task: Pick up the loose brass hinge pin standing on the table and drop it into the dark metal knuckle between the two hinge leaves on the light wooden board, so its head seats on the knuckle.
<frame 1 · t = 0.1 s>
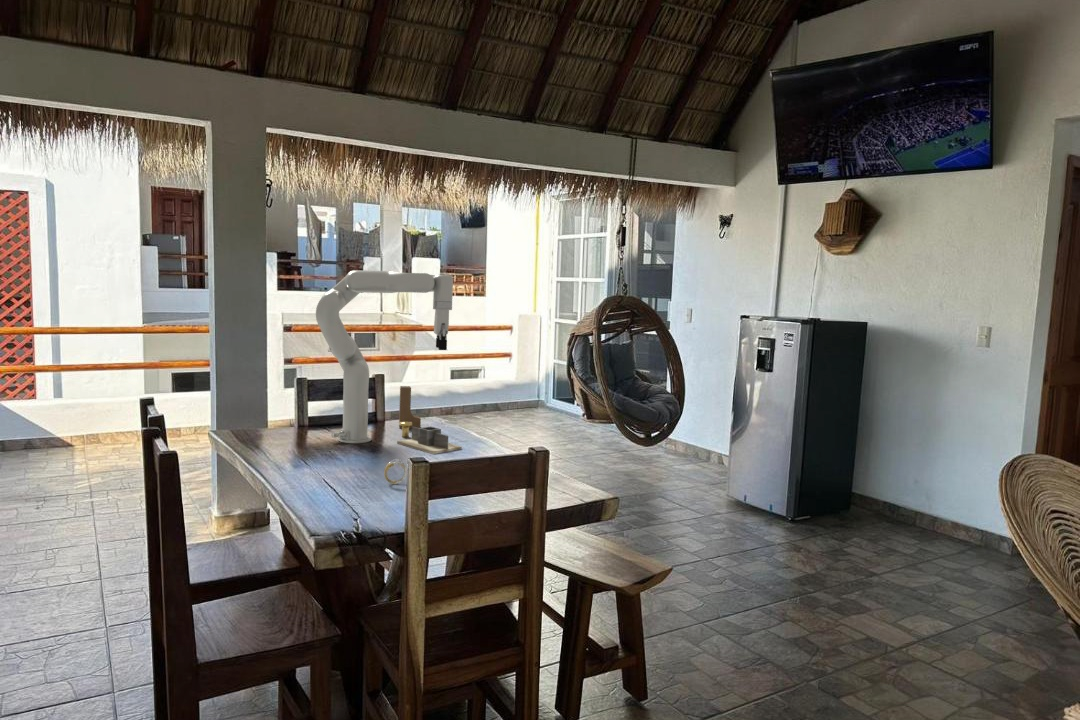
hand: (441, 348, 289), 37 cm above the table, tool pointing down, fingers open, 9 cm apart
wooden block: (409, 428, 315), on the table
hinge pin: (405, 437, 296), on the table
hinge base: (429, 446, 281), on the table
ring: (395, 484, 227), on the table
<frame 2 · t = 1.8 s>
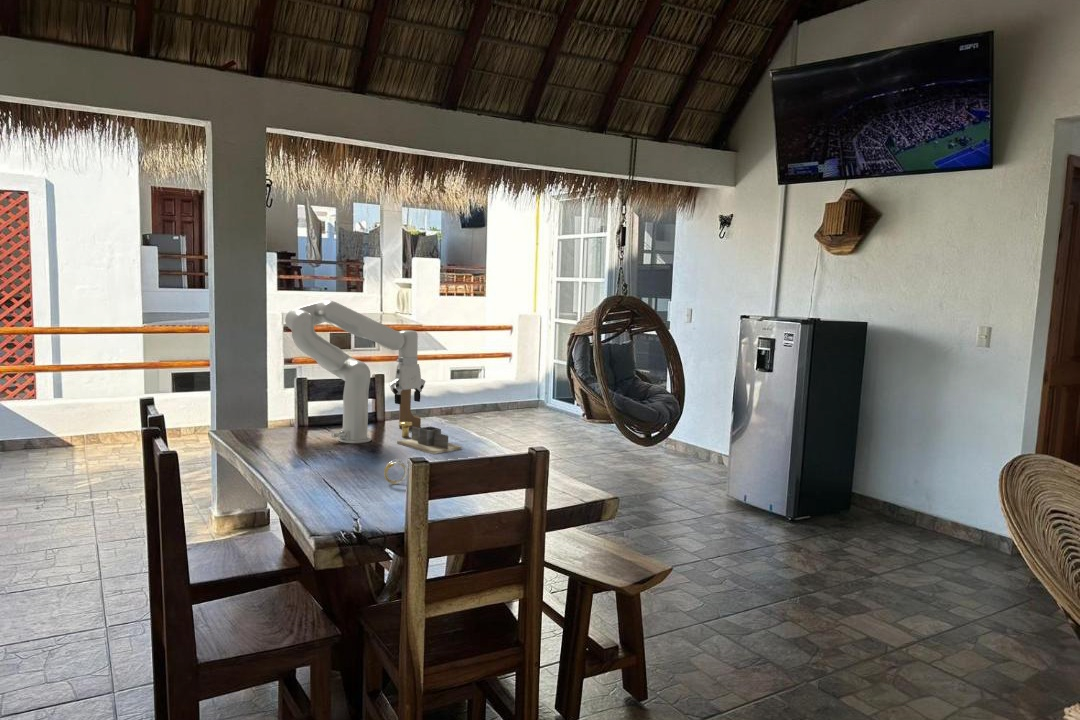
hand: (407, 402, 295), 14 cm above the table, tool pointing down, fingers open, 9 cm apart
nothing on the table moved.
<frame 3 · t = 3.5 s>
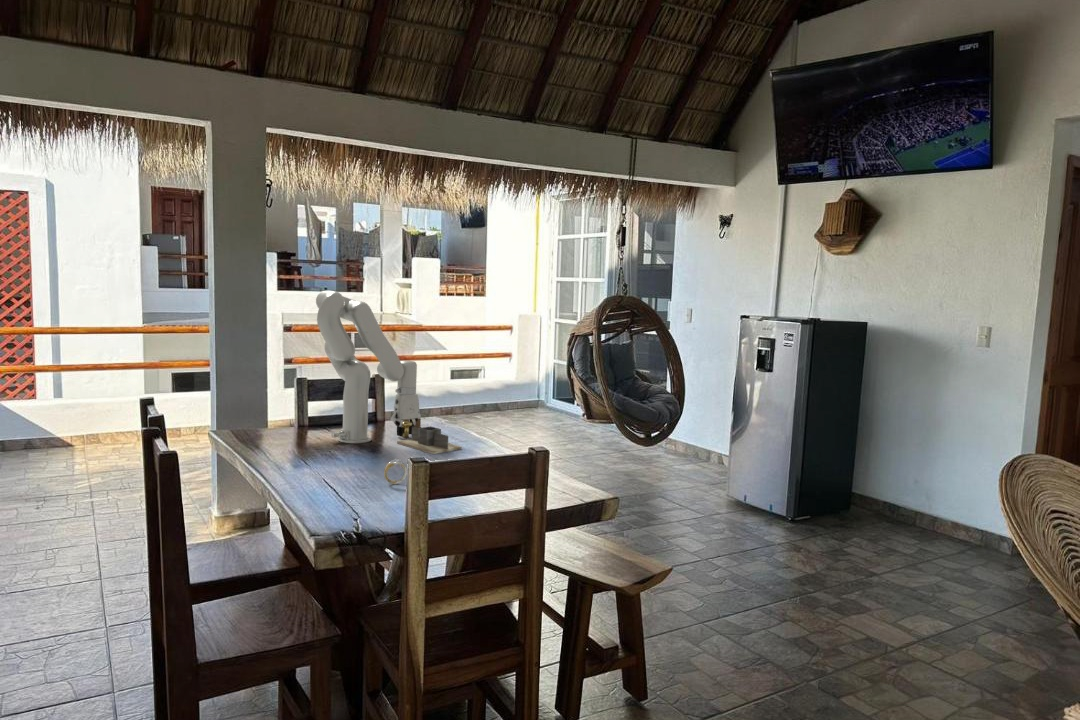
hand: (405, 434, 296), 1 cm above the table, tool pointing down, fingers closed on hinge pin, 4 cm apart
hinge pin: (405, 437, 296), on the table, touching gripper
everything else where it was.
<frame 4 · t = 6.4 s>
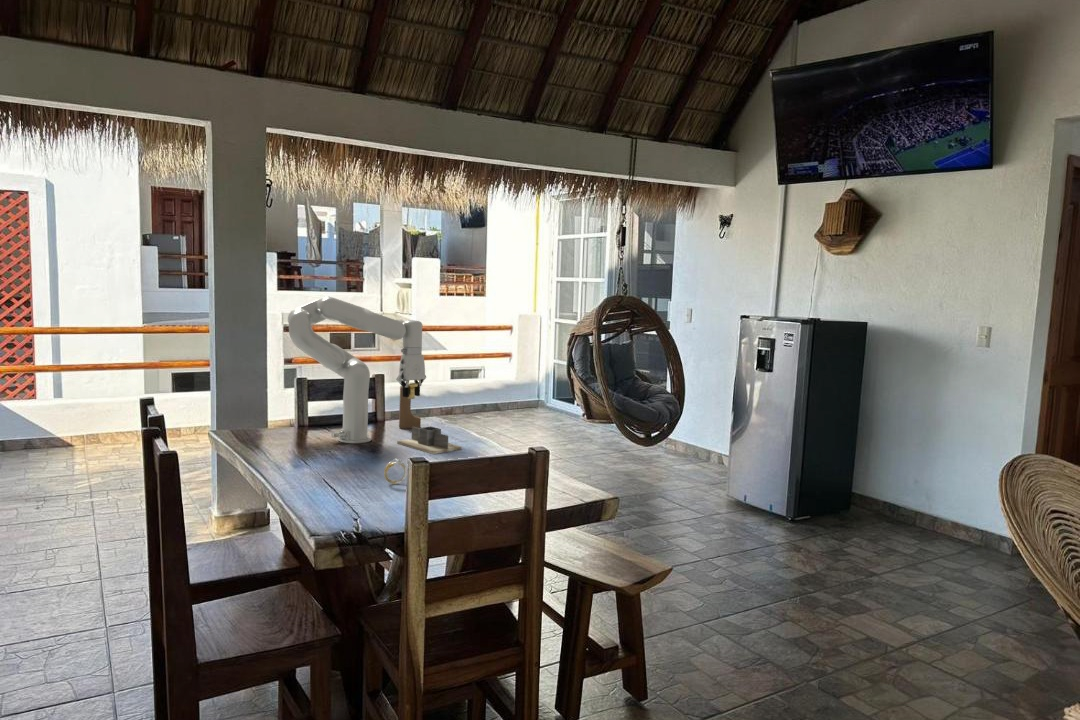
hand: (411, 395, 292), 18 cm above the table, tool pointing down, fingers closed on hinge pin, 4 cm apart
hinge pin: (411, 398, 292), point 17 cm above the table, touching gripper
everything else where it was.
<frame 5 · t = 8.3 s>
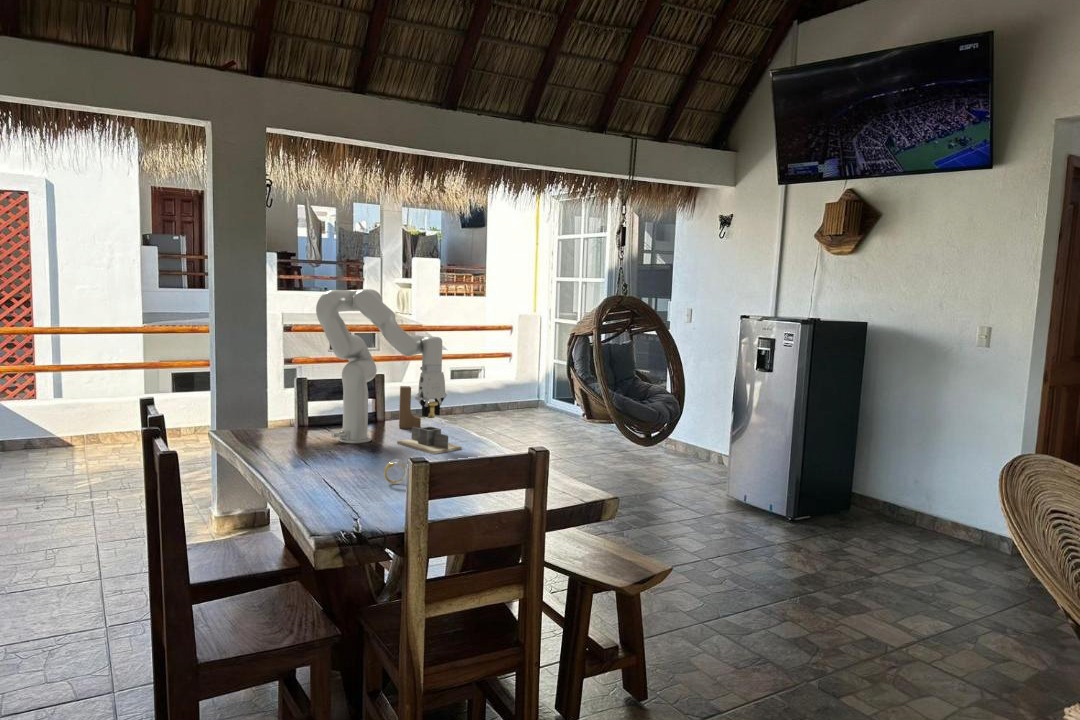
hand: (430, 415, 280), 12 cm above the table, tool pointing down, fingers closed on hinge pin, 4 cm apart
hinge pin: (431, 417, 280), point 11 cm above the table, touching gripper
everything else where it was.
when the fingers open (9 cm above the table, at t = 9.6 s): hinge pin drops 6 cm, resting on hinge base.
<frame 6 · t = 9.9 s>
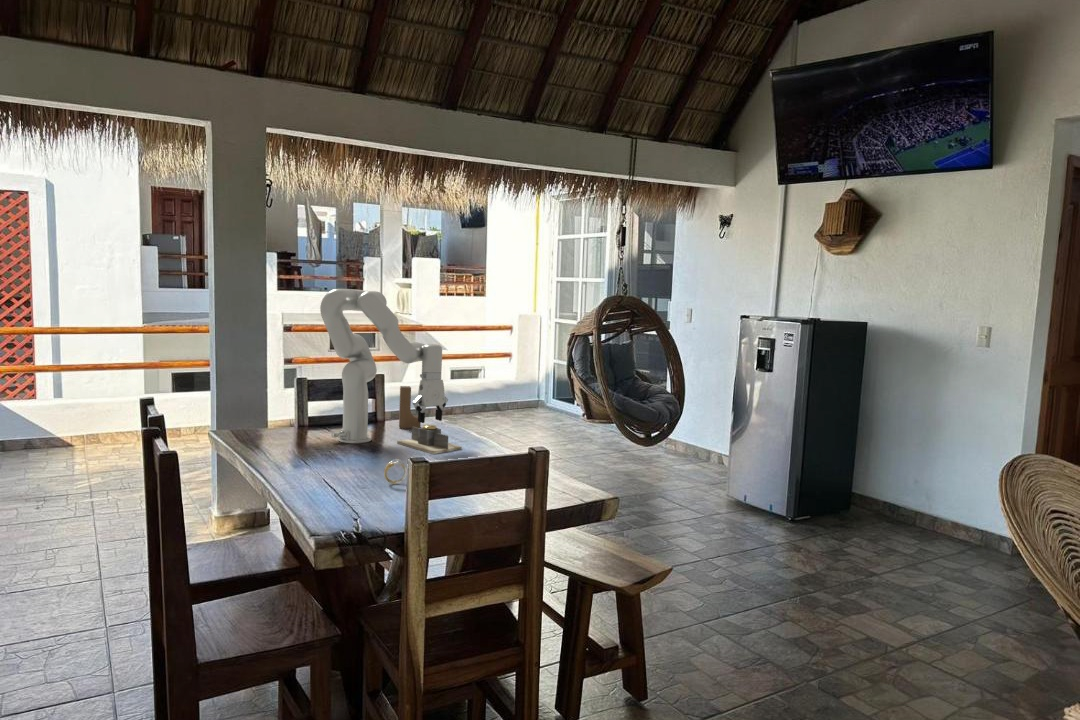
hand: (430, 421, 280), 10 cm above the table, tool pointing down, fingers open, 8 cm apart
hinge pin: (429, 441, 281), point 2 cm above the table, touching hinge base
everything else where it was.
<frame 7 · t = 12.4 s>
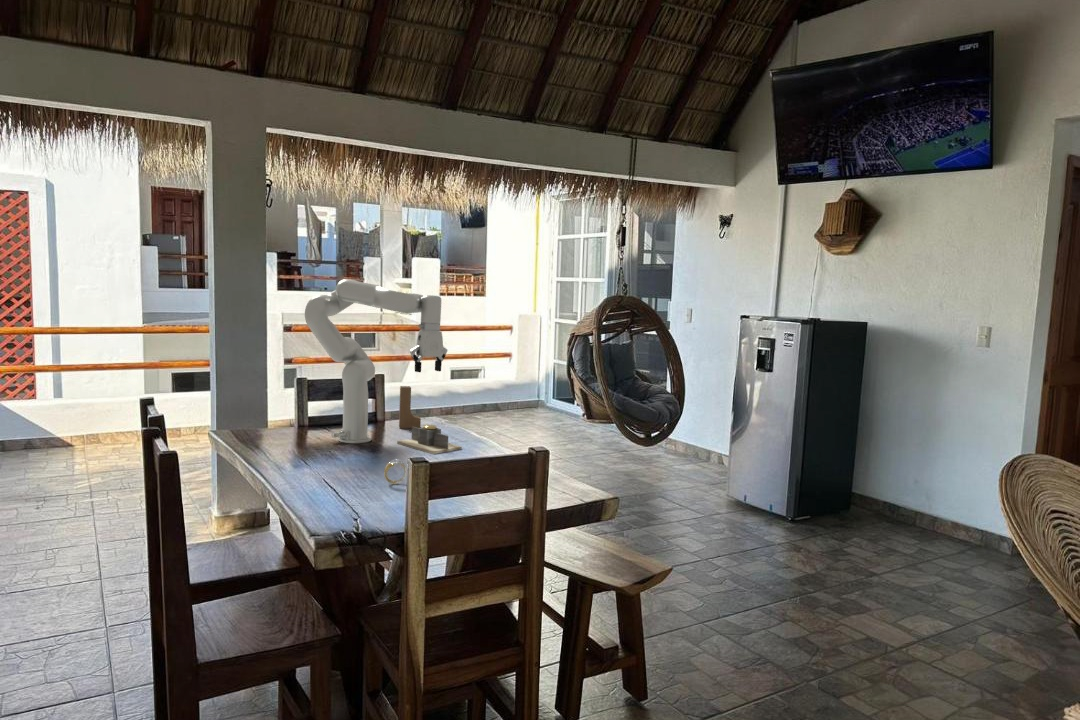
hand: (427, 371, 281), 29 cm above the table, tool pointing down, fingers open, 9 cm apart
nothing on the table moved.
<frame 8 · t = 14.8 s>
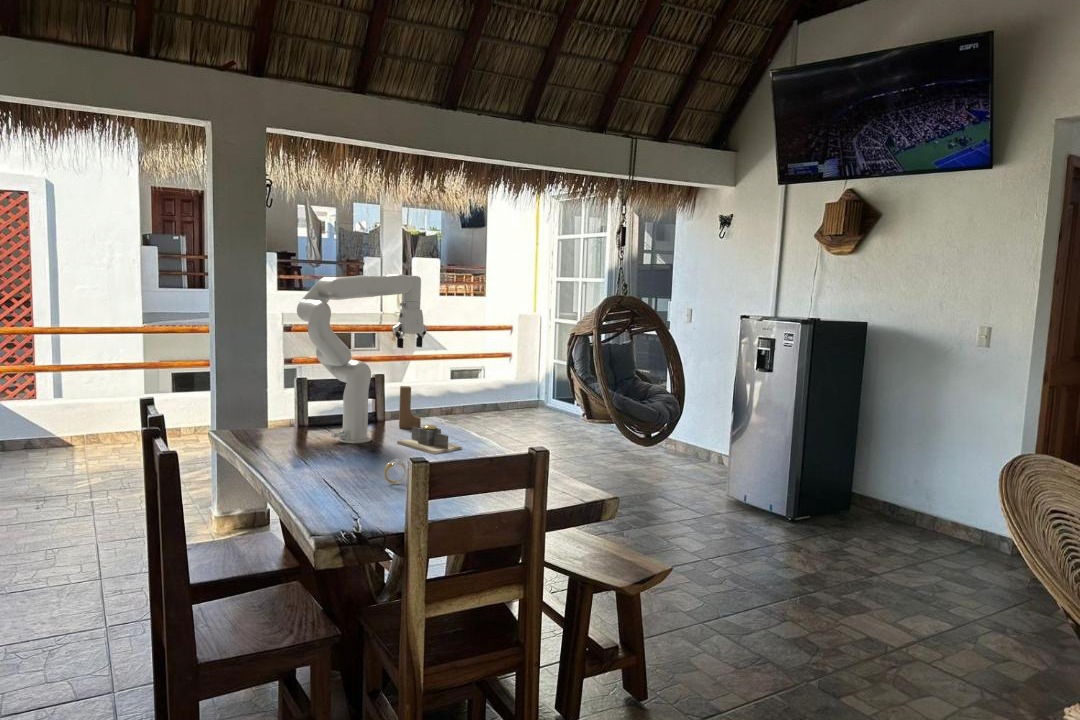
hand: (409, 347, 298), 36 cm above the table, tool pointing down, fingers open, 9 cm apart
nothing on the table moved.
at the end: hinge pin 0.0 cm off-centre on the hinge base, point 2.0 cm above the hinge base's base; hinge pin tilted 0°; the gripper is holding nothing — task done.
